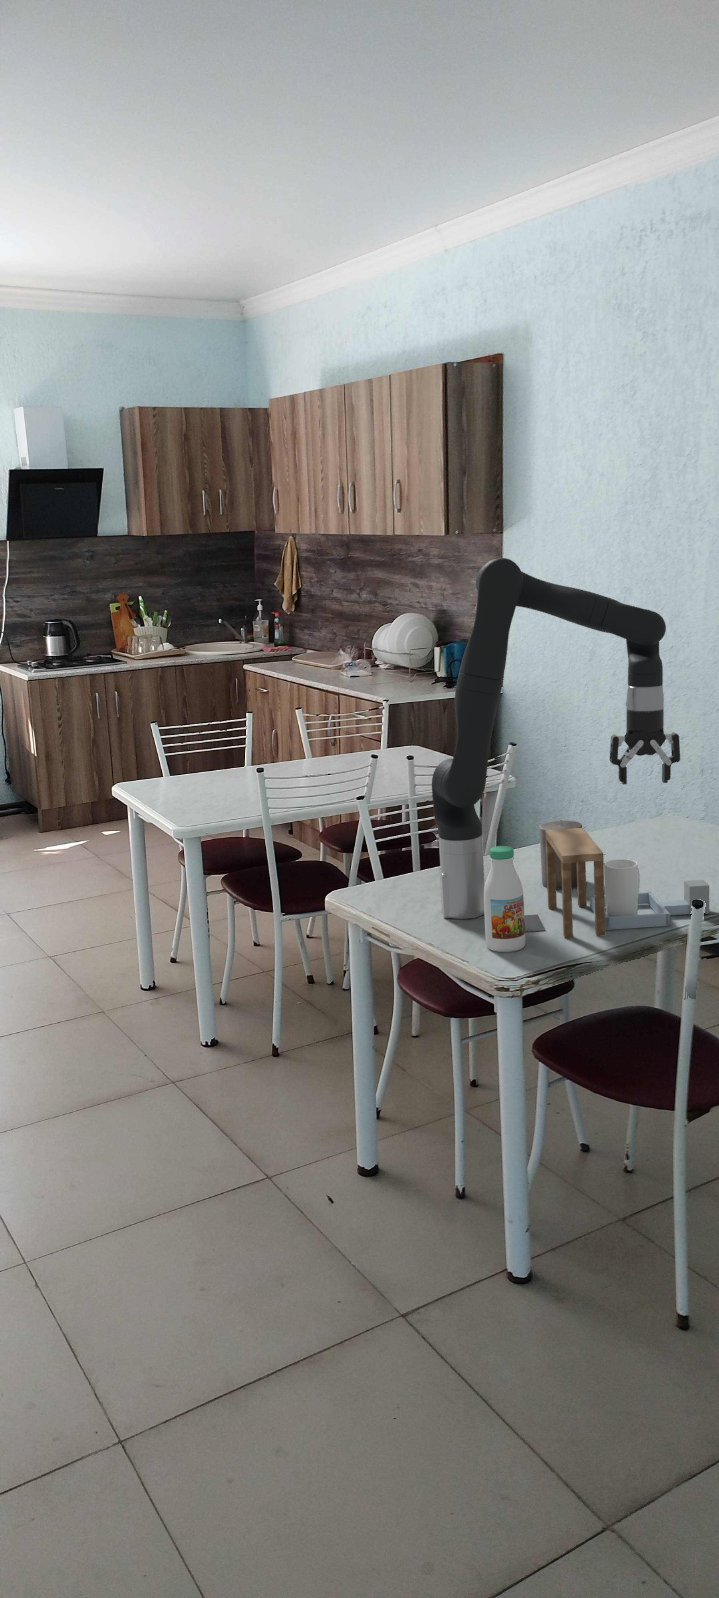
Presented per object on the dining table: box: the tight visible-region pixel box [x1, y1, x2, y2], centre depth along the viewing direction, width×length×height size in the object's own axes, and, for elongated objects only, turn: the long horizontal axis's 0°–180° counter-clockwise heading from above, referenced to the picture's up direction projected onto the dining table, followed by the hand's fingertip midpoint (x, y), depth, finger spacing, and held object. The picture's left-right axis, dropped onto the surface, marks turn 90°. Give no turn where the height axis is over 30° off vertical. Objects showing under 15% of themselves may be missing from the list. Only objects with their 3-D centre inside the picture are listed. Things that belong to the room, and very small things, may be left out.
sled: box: [589, 879, 710, 931], centre depth 240 cm, size 22×15×6 cm, turn 91°
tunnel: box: [545, 827, 606, 939], centre depth 239 cm, size 8×20×17 cm, turn 1°
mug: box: [604, 858, 641, 917], centre depth 239 cm, size 10×7×12 cm, turn 135°
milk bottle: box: [484, 845, 526, 953], centre depth 227 cm, size 8×8×20 cm
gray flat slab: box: [524, 914, 546, 934], centre depth 241 cm, size 6×10×1 cm, turn 1°
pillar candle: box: [538, 819, 583, 890], centre depth 265 cm, size 10×10×15 cm
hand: (644, 783), depth 246 cm, fingers open, 8 cm apart
